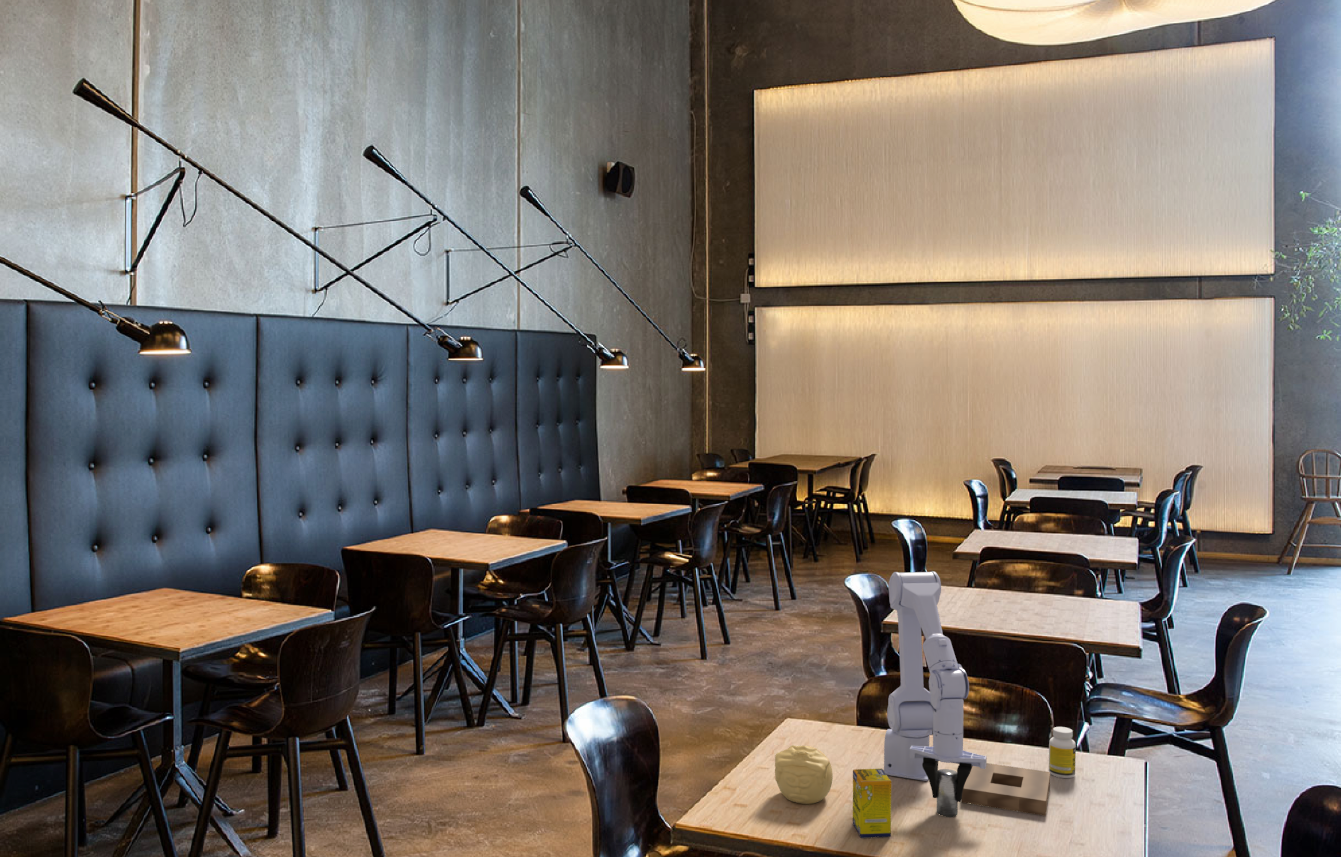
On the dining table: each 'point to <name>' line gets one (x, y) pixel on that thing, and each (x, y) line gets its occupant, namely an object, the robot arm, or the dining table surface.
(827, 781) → the sculpture
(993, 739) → the dining table surface
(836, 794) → the dining table surface
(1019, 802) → the socket block
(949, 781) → the steel pin
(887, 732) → the robot arm
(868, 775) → the supplement box
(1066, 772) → the supplement bottle
